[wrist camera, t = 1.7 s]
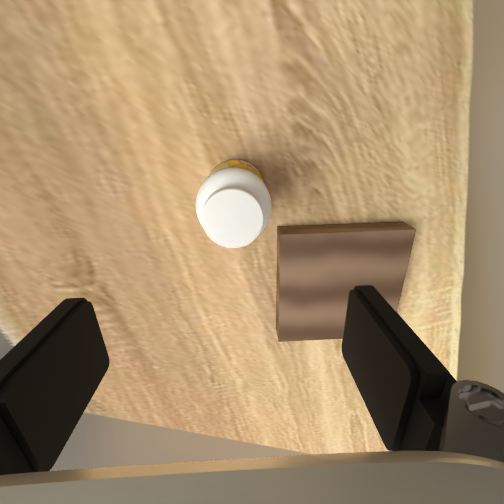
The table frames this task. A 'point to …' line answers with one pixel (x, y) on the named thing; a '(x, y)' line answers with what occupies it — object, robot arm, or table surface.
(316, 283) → the block
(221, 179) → the supplement bottle
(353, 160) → the table surface
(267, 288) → the table surface
